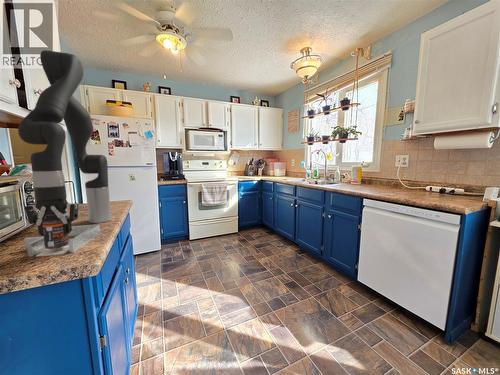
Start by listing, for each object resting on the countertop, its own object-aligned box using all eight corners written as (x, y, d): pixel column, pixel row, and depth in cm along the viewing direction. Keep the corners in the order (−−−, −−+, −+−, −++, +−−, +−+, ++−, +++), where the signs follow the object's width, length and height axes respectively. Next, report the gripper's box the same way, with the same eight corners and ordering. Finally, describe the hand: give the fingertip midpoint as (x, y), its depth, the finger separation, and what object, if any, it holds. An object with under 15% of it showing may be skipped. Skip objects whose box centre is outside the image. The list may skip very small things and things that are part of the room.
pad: (52, 247, 73) (52, 246, 72) (77, 245, 74) (77, 244, 74) (35, 256, 65) (35, 255, 65) (63, 254, 67) (63, 253, 67)
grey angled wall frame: (51, 237, 82) (50, 227, 81) (100, 233, 86) (99, 224, 85) (9, 257, 64) (8, 245, 64) (73, 252, 68) (72, 240, 68)
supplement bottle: (54, 250, 66) (50, 216, 65) (40, 249, 67) (35, 215, 66) (73, 243, 72) (70, 211, 70) (60, 242, 73) (56, 211, 72)
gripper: (81, 183, 72) (86, 229, 74) (32, 184, 69) (39, 232, 71) (68, 185, 65) (74, 236, 67) (12, 187, 62) (20, 240, 64)
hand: (56, 234), depth 69 cm, fingers closed on supplement bottle, 6 cm apart
